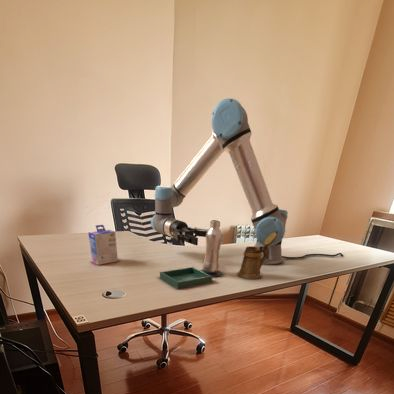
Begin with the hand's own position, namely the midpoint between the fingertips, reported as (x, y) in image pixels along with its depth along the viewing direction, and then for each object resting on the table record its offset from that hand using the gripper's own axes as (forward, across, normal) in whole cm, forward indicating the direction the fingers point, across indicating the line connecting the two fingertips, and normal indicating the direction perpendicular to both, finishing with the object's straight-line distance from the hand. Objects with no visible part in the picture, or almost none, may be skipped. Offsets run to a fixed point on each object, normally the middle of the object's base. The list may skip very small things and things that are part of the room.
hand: (209, 239), depth 120 cm
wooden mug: (+14, -14, -13) cm, 24 cm away
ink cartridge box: (-33, +30, -13) cm, 46 cm away
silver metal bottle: (+2, 0, -13) cm, 13 cm away
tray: (+3, +14, -13) cm, 19 cm away
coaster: (+2, 0, -13) cm, 13 cm away
